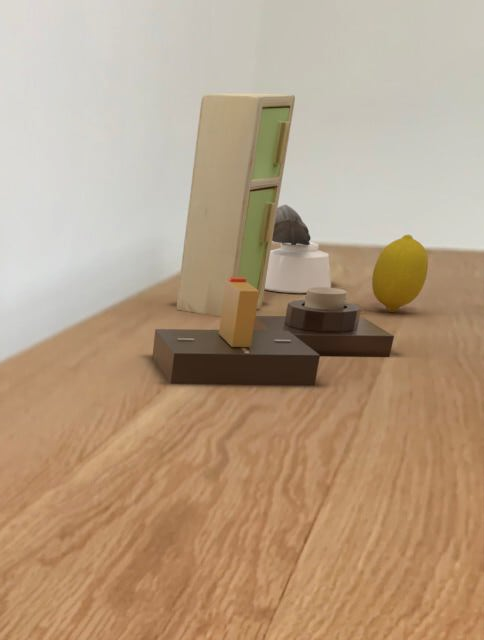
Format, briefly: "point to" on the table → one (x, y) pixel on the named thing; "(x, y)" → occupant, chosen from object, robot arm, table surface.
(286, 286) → the inkwell
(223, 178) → the toy refrigerator
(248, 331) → the lock knob
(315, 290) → the bell button
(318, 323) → the block
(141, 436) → the table surface
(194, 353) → the plate
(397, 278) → the lemon
